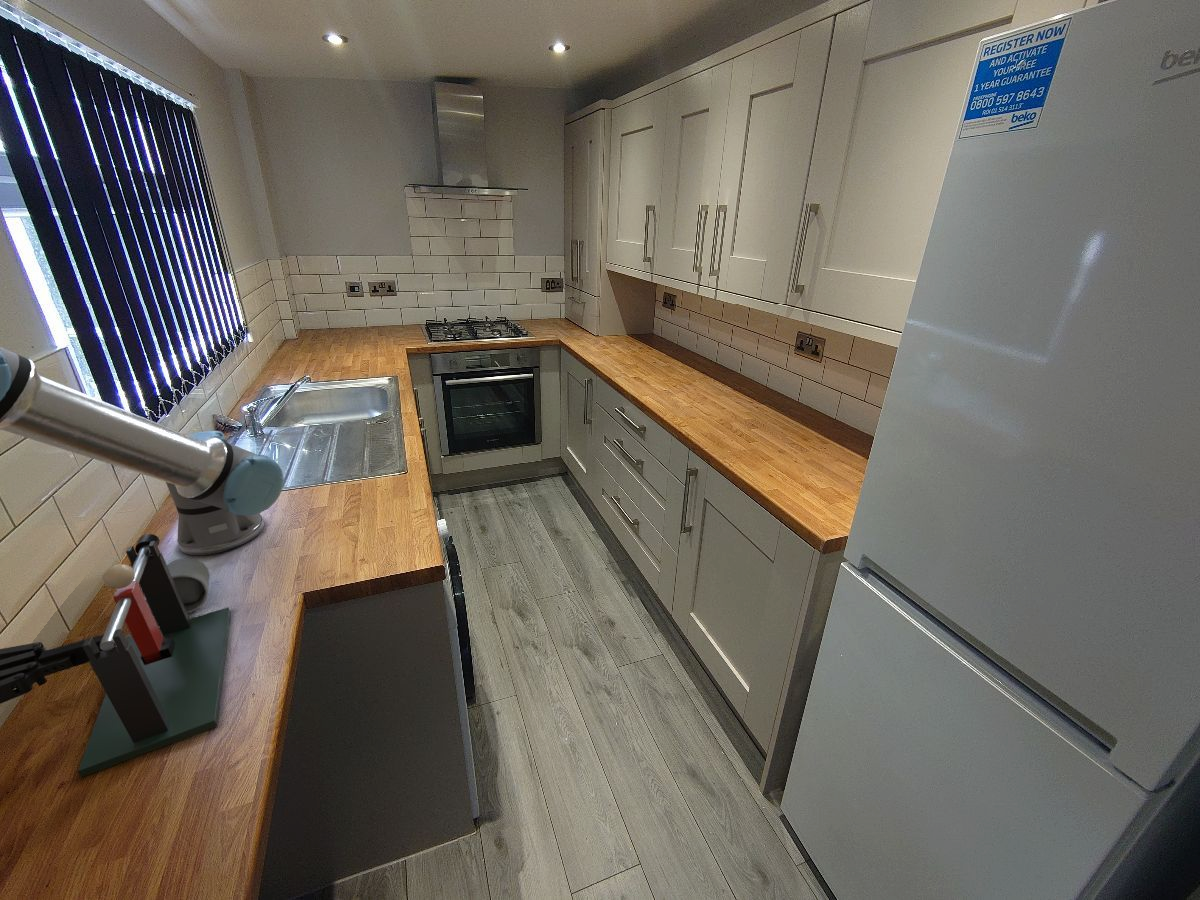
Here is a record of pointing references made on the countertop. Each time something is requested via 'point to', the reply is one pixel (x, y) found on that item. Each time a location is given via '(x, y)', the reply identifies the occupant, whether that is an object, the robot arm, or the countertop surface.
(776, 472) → the countertop surface
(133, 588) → the foosball rod
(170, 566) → the ceramic mug
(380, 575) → the countertop surface
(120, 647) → the foosball frame
